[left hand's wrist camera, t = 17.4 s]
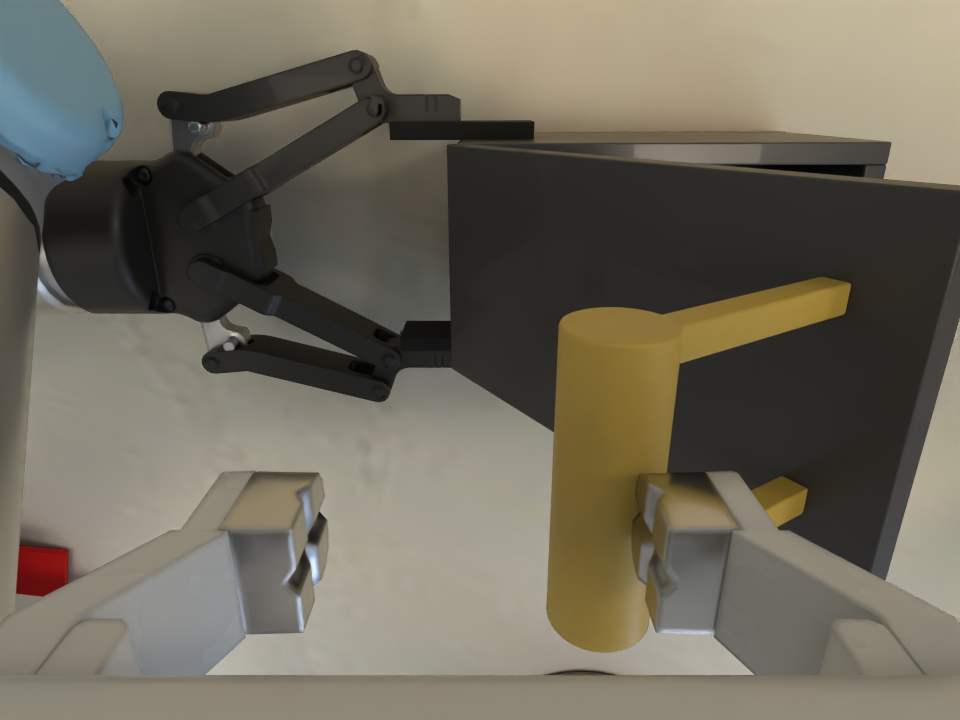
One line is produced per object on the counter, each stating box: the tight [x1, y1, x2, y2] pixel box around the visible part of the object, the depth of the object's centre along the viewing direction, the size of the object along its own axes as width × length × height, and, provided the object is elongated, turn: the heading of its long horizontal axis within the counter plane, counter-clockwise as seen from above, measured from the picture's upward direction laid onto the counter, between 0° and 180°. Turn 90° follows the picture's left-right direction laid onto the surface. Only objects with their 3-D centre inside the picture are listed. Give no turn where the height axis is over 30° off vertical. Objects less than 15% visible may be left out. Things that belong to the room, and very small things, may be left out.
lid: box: [447, 144, 960, 652], centre depth 18 cm, size 18×10×8 cm
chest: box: [458, 131, 891, 179], centre depth 33 cm, size 18×10×11 cm, turn 90°
